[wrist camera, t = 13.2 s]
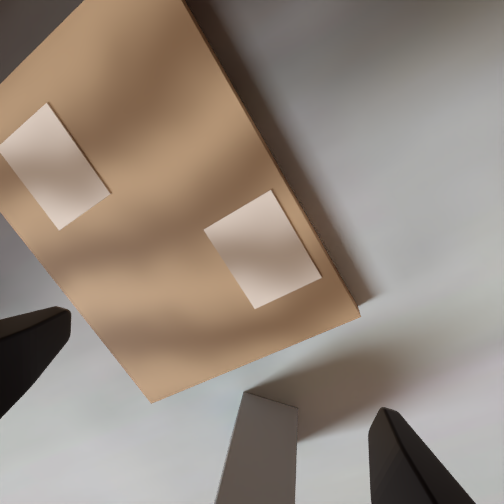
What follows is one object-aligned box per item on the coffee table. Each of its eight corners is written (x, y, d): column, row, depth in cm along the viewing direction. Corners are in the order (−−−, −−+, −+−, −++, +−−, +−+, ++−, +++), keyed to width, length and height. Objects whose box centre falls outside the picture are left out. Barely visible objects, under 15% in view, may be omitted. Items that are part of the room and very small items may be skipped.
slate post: (232, 431, 25) (187, 610, 15) (243, 391, 23) (200, 562, 14) (283, 447, 24) (269, 640, 15) (298, 408, 23) (291, 594, 14)
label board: (-36, 140, 20) (-58, 140, 19) (157, -47, 15) (145, -63, 14) (158, 391, 24) (150, 404, 23) (357, 306, 20) (361, 317, 18)
